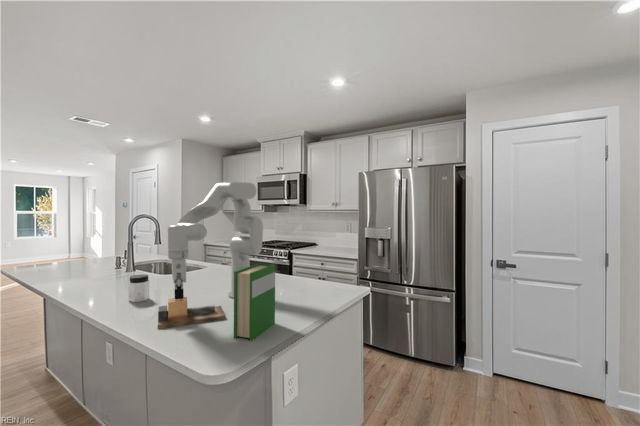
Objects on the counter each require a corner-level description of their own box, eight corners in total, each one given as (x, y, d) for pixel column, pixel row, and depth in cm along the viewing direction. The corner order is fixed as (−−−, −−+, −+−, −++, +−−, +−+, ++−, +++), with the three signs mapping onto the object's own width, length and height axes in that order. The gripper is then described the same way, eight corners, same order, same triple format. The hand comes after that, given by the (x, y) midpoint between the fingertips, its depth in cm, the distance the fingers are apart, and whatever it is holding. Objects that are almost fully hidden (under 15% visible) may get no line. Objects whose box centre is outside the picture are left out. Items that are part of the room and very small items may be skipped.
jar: (128, 303, 145) (128, 278, 145) (128, 299, 152) (128, 275, 152) (149, 300, 150) (150, 276, 150) (148, 296, 157) (148, 273, 157)
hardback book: (251, 341, 105) (252, 273, 105) (233, 338, 108) (234, 271, 107) (274, 323, 122) (275, 264, 122) (258, 321, 124) (259, 263, 124)
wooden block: (186, 312, 129) (186, 296, 129) (187, 317, 123) (187, 300, 123) (168, 315, 126) (168, 298, 126) (168, 320, 120) (168, 302, 120)
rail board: (220, 309, 139) (220, 297, 139) (225, 319, 126) (225, 306, 126) (159, 316, 128) (159, 303, 128) (157, 328, 115) (157, 314, 115)
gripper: (189, 257, 118) (189, 300, 119) (187, 250, 134) (188, 288, 134) (167, 258, 115) (168, 303, 116) (168, 252, 131) (169, 291, 131)
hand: (179, 295), depth 125 cm, fingers open, 9 cm apart
